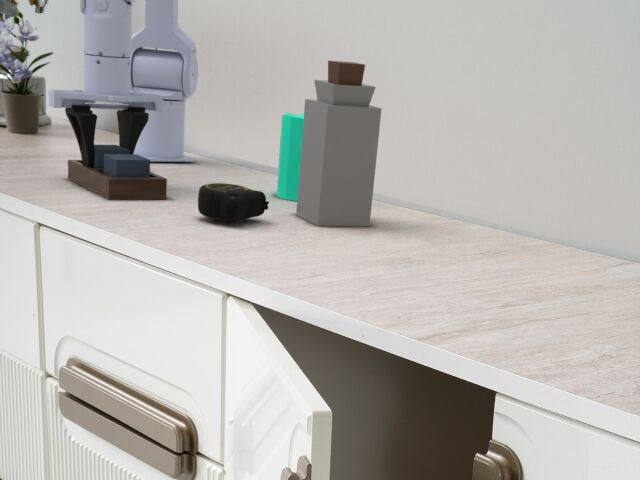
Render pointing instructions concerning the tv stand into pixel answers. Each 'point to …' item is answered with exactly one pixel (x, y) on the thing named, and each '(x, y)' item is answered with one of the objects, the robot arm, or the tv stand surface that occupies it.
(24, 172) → the tv stand surface
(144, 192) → the holder
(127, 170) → the dark blue cube
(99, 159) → the slate blue cube
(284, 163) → the candle
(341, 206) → the perfume bottle
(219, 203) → the tape measure
